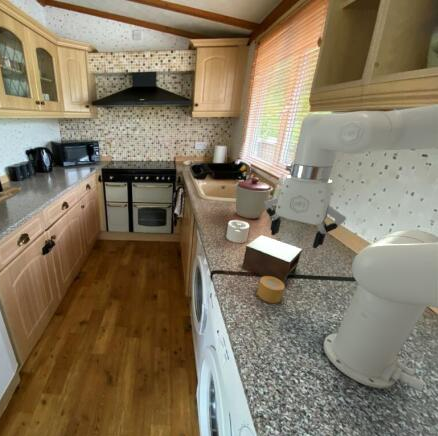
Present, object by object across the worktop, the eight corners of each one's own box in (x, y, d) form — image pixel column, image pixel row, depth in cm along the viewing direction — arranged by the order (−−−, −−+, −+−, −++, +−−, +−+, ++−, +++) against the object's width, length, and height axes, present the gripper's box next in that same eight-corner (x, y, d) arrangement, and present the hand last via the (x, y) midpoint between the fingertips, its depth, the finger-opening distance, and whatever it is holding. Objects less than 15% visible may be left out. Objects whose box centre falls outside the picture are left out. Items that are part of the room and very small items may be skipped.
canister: (224, 212, 137) (229, 175, 129) (247, 207, 145) (254, 172, 136) (248, 224, 122) (256, 183, 114) (273, 218, 129) (282, 179, 121)
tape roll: (284, 295, 74) (288, 283, 72) (276, 306, 69) (279, 293, 67) (262, 285, 78) (265, 273, 76) (253, 295, 74) (256, 282, 72)
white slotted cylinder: (246, 244, 103) (249, 230, 100) (225, 240, 106) (227, 226, 104) (248, 226, 120) (250, 213, 117) (229, 223, 123) (231, 211, 120)
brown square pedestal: (295, 271, 85) (302, 249, 82) (283, 286, 78) (289, 262, 74) (256, 255, 95) (261, 235, 91) (242, 267, 87) (246, 245, 84)
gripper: (265, 169, 59) (254, 233, 65) (354, 181, 47) (330, 257, 53) (277, 166, 64) (266, 225, 70) (362, 175, 52) (339, 246, 58)
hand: (294, 239), depth 61 cm, fingers open, 9 cm apart
